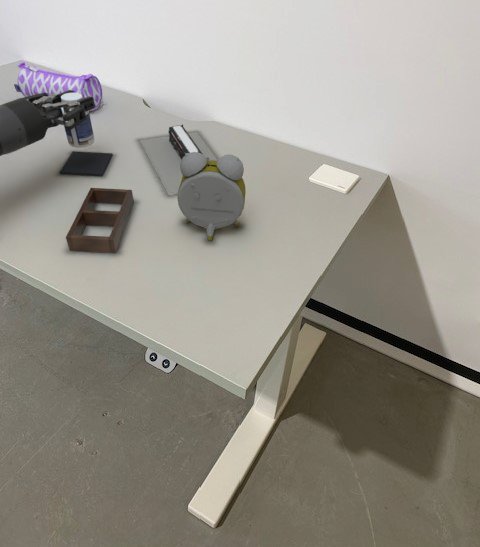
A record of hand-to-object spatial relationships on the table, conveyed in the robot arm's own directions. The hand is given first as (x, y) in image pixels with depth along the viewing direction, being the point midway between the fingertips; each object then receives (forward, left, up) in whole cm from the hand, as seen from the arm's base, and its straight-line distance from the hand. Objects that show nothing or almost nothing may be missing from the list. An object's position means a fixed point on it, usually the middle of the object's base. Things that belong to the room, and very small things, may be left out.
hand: (82, 98), depth 85 cm
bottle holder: (+8, -23, -14) cm, 28 cm away
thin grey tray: (+20, +2, -14) cm, 24 cm away
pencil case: (-16, +29, -14) cm, 36 cm away
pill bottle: (-1, -2, -9) cm, 9 cm away
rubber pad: (-1, -2, -14) cm, 14 cm away
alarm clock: (+28, -23, -14) cm, 39 cm away
